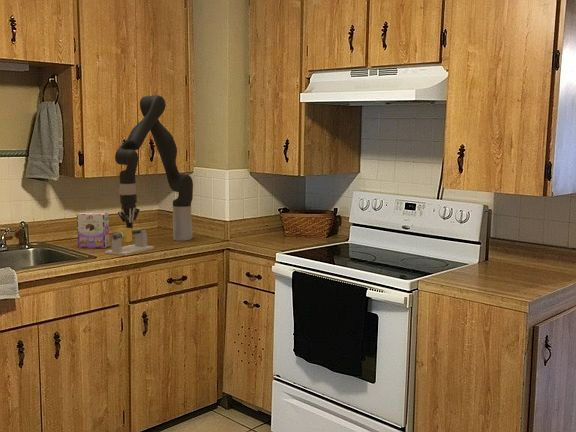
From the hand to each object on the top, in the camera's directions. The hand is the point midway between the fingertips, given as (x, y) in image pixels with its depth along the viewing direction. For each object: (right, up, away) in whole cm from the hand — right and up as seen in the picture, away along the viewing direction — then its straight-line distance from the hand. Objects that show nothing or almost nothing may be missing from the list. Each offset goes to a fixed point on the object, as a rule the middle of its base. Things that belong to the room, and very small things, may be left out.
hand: (129, 230), depth 319 cm
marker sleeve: (-2, -5, -3) cm, 6 cm away
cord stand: (0, -9, +1) cm, 10 cm away
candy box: (-19, -8, +10) cm, 23 cm away
